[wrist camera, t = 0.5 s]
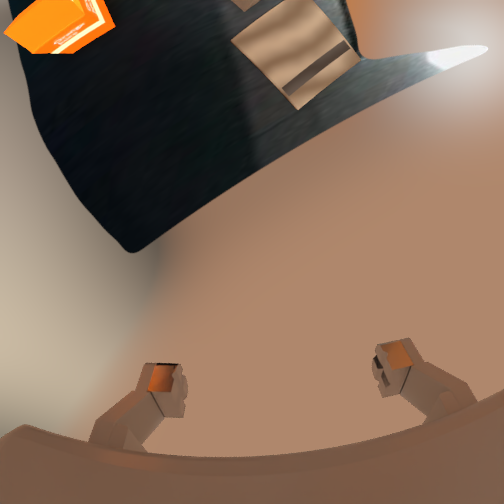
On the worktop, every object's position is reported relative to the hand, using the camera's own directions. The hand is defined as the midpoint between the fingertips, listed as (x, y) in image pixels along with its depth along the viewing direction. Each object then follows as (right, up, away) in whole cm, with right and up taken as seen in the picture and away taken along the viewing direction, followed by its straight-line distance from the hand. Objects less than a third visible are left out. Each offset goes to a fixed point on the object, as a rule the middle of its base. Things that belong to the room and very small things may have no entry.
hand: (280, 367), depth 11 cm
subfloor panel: (+7, +39, +30) cm, 50 cm away
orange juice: (-29, +43, +20) cm, 56 cm away
